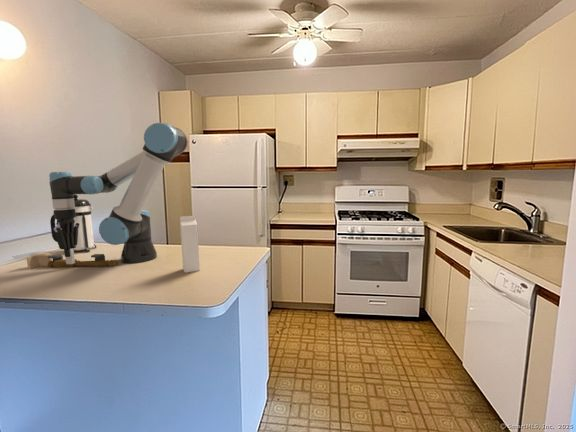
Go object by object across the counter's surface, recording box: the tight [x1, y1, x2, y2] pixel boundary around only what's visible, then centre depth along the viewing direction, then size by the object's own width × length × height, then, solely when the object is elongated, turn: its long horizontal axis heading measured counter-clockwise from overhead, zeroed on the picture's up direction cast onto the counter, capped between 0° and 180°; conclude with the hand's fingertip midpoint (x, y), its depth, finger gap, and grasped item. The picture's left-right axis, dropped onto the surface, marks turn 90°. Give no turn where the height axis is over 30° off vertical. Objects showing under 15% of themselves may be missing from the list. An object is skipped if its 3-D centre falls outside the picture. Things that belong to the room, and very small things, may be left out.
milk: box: [179, 215, 201, 273], centre depth 126 cm, size 6×6×22 cm
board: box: [26, 252, 106, 270], centre depth 138 cm, size 33×9×6 cm, turn 89°
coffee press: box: [49, 194, 97, 253], centre depth 164 cm, size 17×16×30 cm
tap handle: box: [48, 258, 118, 269], centre depth 136 cm, size 3×3×30 cm
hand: (70, 263), depth 134 cm, fingers closed
